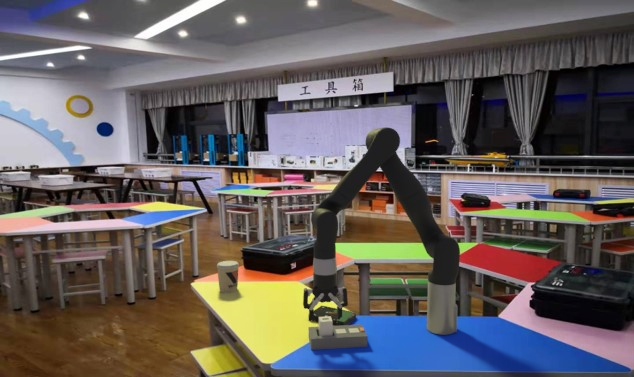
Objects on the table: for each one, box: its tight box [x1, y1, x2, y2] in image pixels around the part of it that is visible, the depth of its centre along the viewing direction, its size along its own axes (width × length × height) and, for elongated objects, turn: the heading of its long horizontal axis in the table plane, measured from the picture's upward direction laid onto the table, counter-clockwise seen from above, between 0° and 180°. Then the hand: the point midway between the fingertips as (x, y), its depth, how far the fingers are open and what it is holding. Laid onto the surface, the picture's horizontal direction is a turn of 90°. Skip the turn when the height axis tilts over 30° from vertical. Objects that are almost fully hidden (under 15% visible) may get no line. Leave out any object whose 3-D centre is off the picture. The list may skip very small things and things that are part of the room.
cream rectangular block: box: [318, 316, 333, 336], centre depth 143 cm, size 4×4×8 cm
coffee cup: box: [216, 260, 240, 293], centre depth 194 cm, size 9×9×12 cm
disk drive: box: [308, 305, 357, 326], centre depth 162 cm, size 10×3×15 cm
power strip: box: [308, 324, 368, 351], centre depth 143 cm, size 18×9×4 cm, turn 96°
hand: (325, 319), depth 142 cm, fingers open, 8 cm apart
